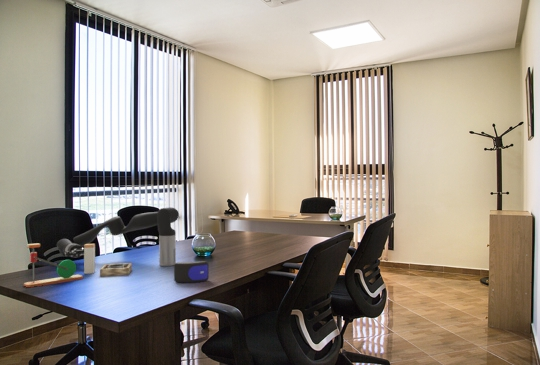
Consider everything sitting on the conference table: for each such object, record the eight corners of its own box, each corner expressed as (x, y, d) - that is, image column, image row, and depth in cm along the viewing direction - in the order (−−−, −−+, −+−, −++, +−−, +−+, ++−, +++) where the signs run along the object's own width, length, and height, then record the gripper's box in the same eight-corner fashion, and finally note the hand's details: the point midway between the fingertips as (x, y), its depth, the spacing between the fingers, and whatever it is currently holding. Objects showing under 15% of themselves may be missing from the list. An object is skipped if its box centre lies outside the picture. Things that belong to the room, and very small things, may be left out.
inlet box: (131, 269, 224) (131, 262, 224) (128, 274, 210) (128, 267, 210) (104, 270, 220) (104, 263, 220) (100, 276, 207) (99, 268, 207)
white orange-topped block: (95, 271, 219) (94, 243, 219) (93, 273, 214) (93, 244, 214) (86, 271, 218) (86, 243, 218) (84, 273, 213) (84, 245, 213)
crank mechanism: (27, 288, 184) (27, 245, 184) (22, 285, 188) (22, 244, 188) (83, 279, 201) (83, 240, 202) (78, 276, 206) (78, 239, 206)
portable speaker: (174, 284, 189) (174, 264, 189) (174, 282, 194) (174, 262, 194) (209, 282, 193) (209, 262, 193) (208, 280, 197) (208, 260, 197)
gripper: (60, 245, 229) (70, 248, 217) (86, 242, 239) (97, 245, 227) (60, 258, 229) (70, 262, 217) (86, 255, 239) (97, 258, 227)
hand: (84, 253), depth 222 cm, fingers open, 8 cm apart
